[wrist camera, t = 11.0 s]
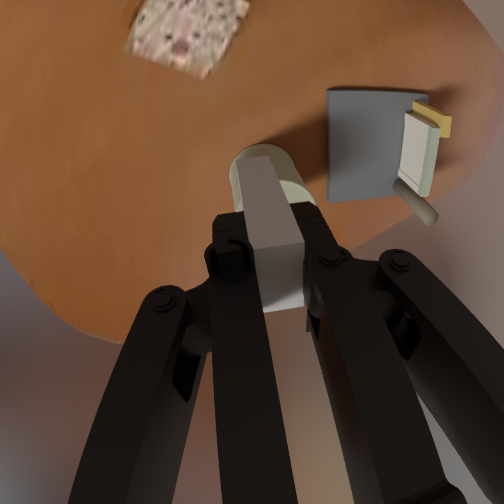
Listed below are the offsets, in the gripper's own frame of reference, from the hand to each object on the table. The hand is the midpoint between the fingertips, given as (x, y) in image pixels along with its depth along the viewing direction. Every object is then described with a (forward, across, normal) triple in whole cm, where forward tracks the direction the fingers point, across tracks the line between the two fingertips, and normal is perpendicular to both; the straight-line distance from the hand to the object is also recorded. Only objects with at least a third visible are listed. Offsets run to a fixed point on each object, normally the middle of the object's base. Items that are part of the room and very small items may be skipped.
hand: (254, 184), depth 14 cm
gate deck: (+26, +20, -9) cm, 35 cm away
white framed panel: (+25, +25, -9) cm, 36 cm away
